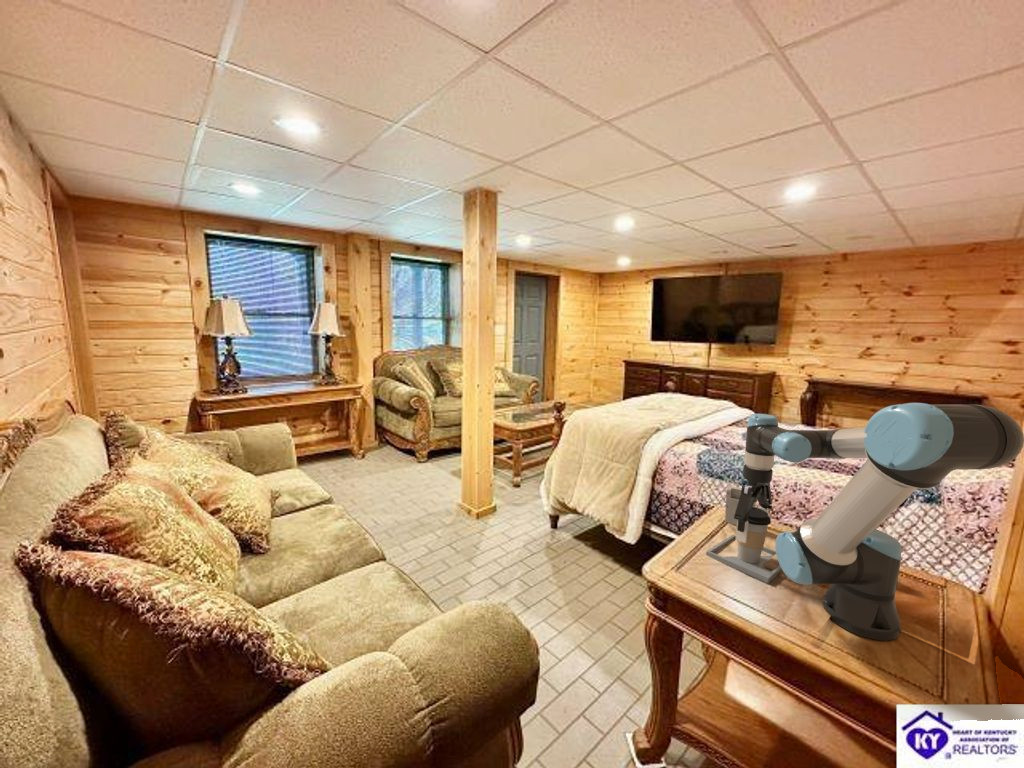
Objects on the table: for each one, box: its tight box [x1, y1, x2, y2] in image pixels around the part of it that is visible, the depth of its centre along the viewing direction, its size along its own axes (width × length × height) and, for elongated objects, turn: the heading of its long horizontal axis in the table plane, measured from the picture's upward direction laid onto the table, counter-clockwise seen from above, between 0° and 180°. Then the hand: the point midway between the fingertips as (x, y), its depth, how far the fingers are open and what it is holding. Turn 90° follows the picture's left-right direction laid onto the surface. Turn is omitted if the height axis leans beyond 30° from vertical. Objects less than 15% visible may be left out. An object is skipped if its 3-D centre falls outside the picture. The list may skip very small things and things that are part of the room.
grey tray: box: [705, 534, 783, 585], centre depth 131 cm, size 18×18×2 cm
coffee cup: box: [736, 507, 772, 564], centre depth 130 cm, size 9×9×15 cm
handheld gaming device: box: [724, 485, 757, 527], centre depth 150 cm, size 9×15×4 cm
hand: (751, 534), depth 130 cm, fingers open, 13 cm apart
